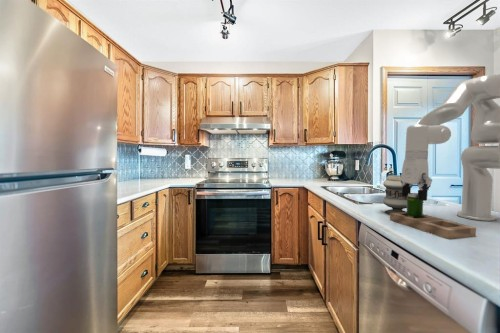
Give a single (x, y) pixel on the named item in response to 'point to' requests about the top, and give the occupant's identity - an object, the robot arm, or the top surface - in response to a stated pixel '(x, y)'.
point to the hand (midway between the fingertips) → (413, 198)
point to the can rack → (435, 225)
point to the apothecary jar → (394, 194)
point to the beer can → (414, 206)
